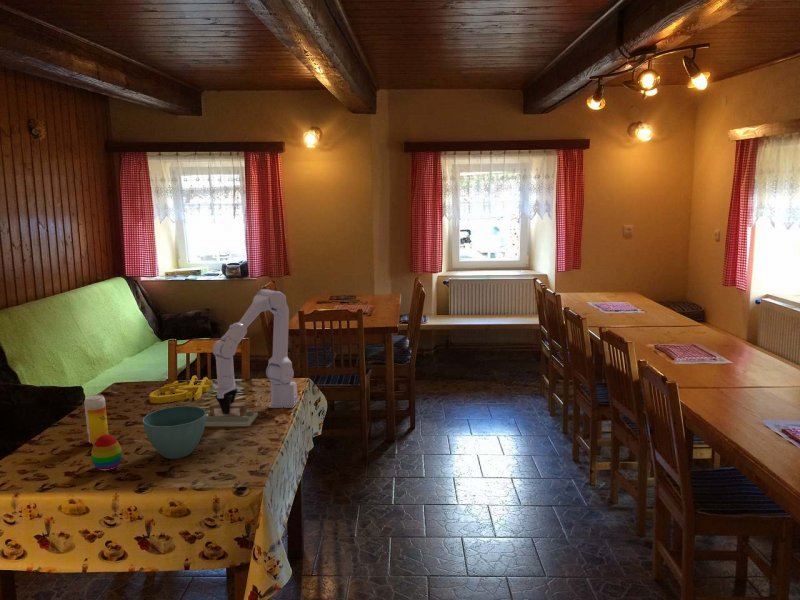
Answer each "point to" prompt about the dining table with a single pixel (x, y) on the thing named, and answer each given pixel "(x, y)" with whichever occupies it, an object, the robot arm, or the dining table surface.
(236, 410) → the brown box
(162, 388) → the decorative art
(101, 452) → the decorative egg
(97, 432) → the yellow bottle
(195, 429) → the teal bowl
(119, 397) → the dining table surface
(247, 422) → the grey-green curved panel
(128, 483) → the dining table surface
